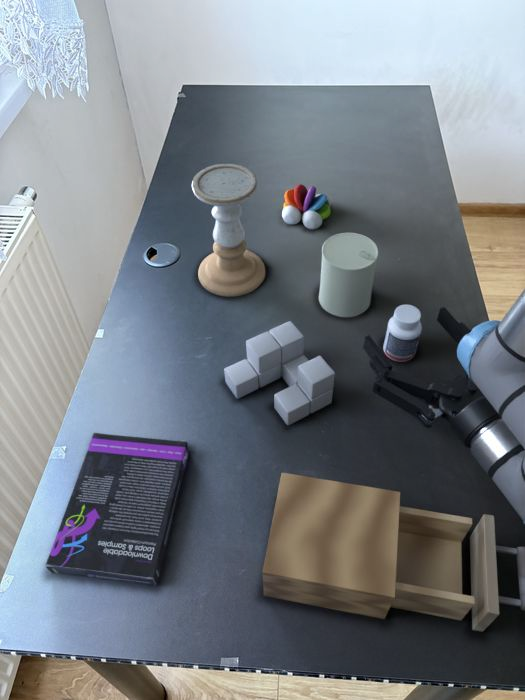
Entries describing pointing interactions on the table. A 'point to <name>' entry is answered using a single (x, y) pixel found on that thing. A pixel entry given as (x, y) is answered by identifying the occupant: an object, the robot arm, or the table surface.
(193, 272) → the table surface
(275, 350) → the grey cube puzzle piece
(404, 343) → the pill bottle
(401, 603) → the drawer
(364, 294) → the can
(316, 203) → the rainbow petal toy
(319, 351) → the table surface
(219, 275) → the candle holder
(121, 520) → the box
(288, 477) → the cabinet
